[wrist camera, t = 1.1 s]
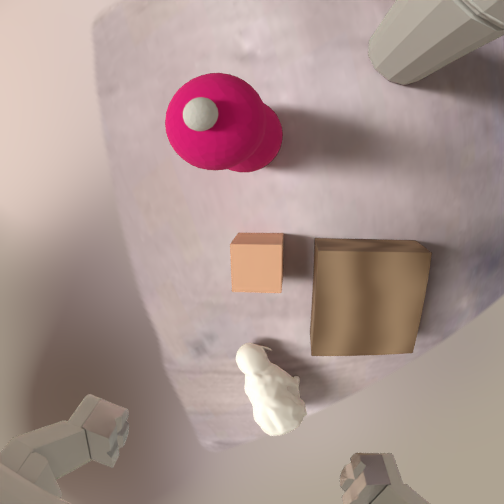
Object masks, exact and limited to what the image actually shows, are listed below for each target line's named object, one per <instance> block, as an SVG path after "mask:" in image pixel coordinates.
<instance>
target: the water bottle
mask: <svg viewBox="0 0 504 504" xmlns="http://www.w3.org/2000/svg"><path fill="white" fill-rule="evenodd" d="M503 35H504V0H396V1H395V3H394V4H393V6H392V7H391V9H390V10H389V12H388V13H387V15H386V16H385V18H384V19H383V21H382V22H381V24H380V25H379V27H378V28H377V30H376V31H375V33H374V34H373V36H372V37H371V39H370V40H369V49H368V56H369V58H370V60H371V62H372V64H373V66H374V68H375V70H376V71H378V72H379V73H380V74H381V75H382V76H383V77H385V78H386V79H387V80H388V81H392V82H395V83H399V84H402V85H406V84H410V83H414V82H418V81H419V80H421V79H423V78H425V77H426V76H428V75H430V74H432V73H433V72H435V71H437V70H439V69H440V68H442V67H444V66H446V65H448V64H450V63H451V62H453V61H455V60H457V59H459V58H461V57H462V56H464V55H466V54H468V53H470V52H472V51H474V50H476V49H477V48H479V47H481V46H483V45H485V44H487V43H489V42H491V41H493V40H495V39H497V38H499V37H501V36H503Z"/></svg>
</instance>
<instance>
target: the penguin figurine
mask: <svg viewBox="0 0 504 504" xmlns="http://www.w3.org/2000/svg"><path fill="white" fill-rule="evenodd" d="M264 349H267V350H271V349H270V348H269V347H266V346H259V345H257V344H253V343H246V344H244V345H242V346H241V347H240V348H239V350H238V352H237V354H236V362H237V365H238V367H239V368H240V370H241V371H242V372H243V373H244V374H245V375H246V376H245V386H244V388H245V393H246V394H247V396H248V397H249V400H250V401H251V403H252V405H253V415H254V419H255V421H256V423H258V424H259V425H260V427H261V428H262V430H263V431H264V432H265V433H267V434H268V435H271V436H278V435H283V434H286V433H288V432H291V431H293V430H294V429H296V428H297V427H298V426H299V425H300V424H301V422H302V421H303V417H304V416H306V415H307V412H306V408H305V403H304V401H303V400H302V399H300V393H299V382H300V379H299V377H298V376H294V377H292V376H291V375H289V374H288V373H287V372H286V371H284V370H282V369H281V368H280V367H279V366H277V365H275V364H272V363H271V362H270V361H269V360H268V357H267V354H266V352H265V351H264ZM271 351H272V350H271ZM267 353H268V352H267ZM269 353H270V352H269Z"/></svg>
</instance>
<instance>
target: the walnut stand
mask: <svg viewBox="0 0 504 504" xmlns="http://www.w3.org/2000/svg"><path fill="white" fill-rule="evenodd" d="M431 255H432V253H431V252H430V251H429V250H427V249H426V248H425V247H423V246H422V245H421V244H419V243H418V242H417V241H414V240H375V239H327V238H315V248H314V273H313V293H312V310H311V326H310V340H311V355H312V356H357V355H385V354H404V353H413V349H414V345H415V341H416V337H417V333H418V328H419V324H420V319H421V314H422V309H423V304H424V299H425V293H426V288H427V282H428V275H429V269H430V262H431Z"/></svg>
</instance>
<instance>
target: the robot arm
mask: <svg viewBox="0 0 504 504" xmlns="http://www.w3.org/2000/svg"><path fill="white" fill-rule="evenodd" d="M128 416H129V415H128V409H126V408H123V407H121V406H118V405H115V404H113V403H110V402H108V401H106V400H103V399H101V398H98V397H96V396H93V395H91V394H89V395H87V396H86V397H85V398H84V400H83V401H82V402H81V404H80V405H79V406H78V408H77V409H76V411H75V412H74V413H73V415H72V416H71V418H70V419H69V420H68V422H67V421H65V420H63V421H61V422H57V423H55V424H52V425H49V426H46V427H43V428H40V429H37V430H34V431H31V432H27V433H25V434H21V435H18V436H15V437H13V438H12V439H11V440H10V441H9V442H8V444H7V445H6V446H5V448H4V449H3V450H2V451H1V452H0V504H71V503H68V502H66V501H65V500H63V499H61V496H62V493H61V491H60V489H59V486H58V484H57V482H56V479H58V478H60V477H62V476H64V475H66V474H68V473H70V472H72V471H73V470H75V469H77V468H79V467H81V466H83V465H84V464H86V463H88V462H90V461H91V460H93V461H96V462H98V463H101V464H104V465H106V466H109V467H112V468H113V467H114V464H115V462H116V460H117V458H118V456H119V448H121V447H123V446H124V444H125V441H126V438H127V435H128V430H129V424H128V422H127V421H126V420H127V418H128ZM350 460H351V463H349V464H347V465H345V467H344V468H343V470H342V472H341V475H340V487H341V488H342V489H343V490H344V491H345V492H344V494H343V495H342V499H343V504H430V503H429V502H428V501H426V500H425V499H424V498H423V497H421V496H420V495H419V494H418V493H417V492H415V491H414V490H413V489H412V488H411V487H409V486H408V485H407V484H403V482H402V479H401V476H400V473H399V470H398V467H397V464H396V461H395V459H394V456H393V455H392V453H380V454H379V453H355V454H353V455H352V457H351V458H350Z"/></svg>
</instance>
